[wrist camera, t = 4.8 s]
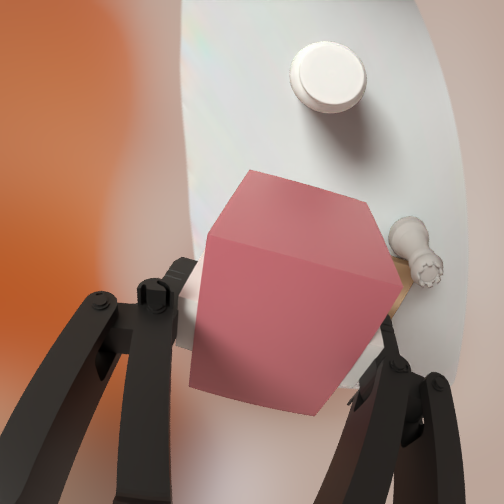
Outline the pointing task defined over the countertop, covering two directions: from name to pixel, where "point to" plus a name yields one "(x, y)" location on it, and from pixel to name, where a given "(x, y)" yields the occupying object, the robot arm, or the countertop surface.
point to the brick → (288, 294)
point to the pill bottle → (328, 77)
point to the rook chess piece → (416, 250)
